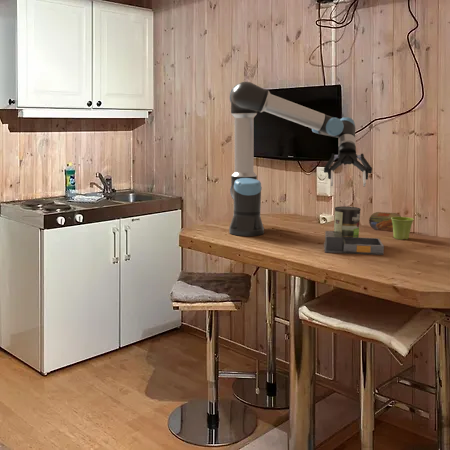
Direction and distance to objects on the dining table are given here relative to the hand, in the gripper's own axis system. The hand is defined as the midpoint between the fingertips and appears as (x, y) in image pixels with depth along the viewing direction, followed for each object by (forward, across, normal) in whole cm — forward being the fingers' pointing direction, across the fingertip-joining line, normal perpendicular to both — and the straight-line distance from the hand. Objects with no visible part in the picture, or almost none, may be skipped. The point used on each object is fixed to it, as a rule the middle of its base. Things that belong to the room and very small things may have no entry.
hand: (348, 184), depth 247 cm
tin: (+2, -19, -31) cm, 37 cm away
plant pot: (+15, -23, -18) cm, 33 cm away
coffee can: (+24, +1, -8) cm, 25 cm away
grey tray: (+34, -1, +2) cm, 34 cm away
